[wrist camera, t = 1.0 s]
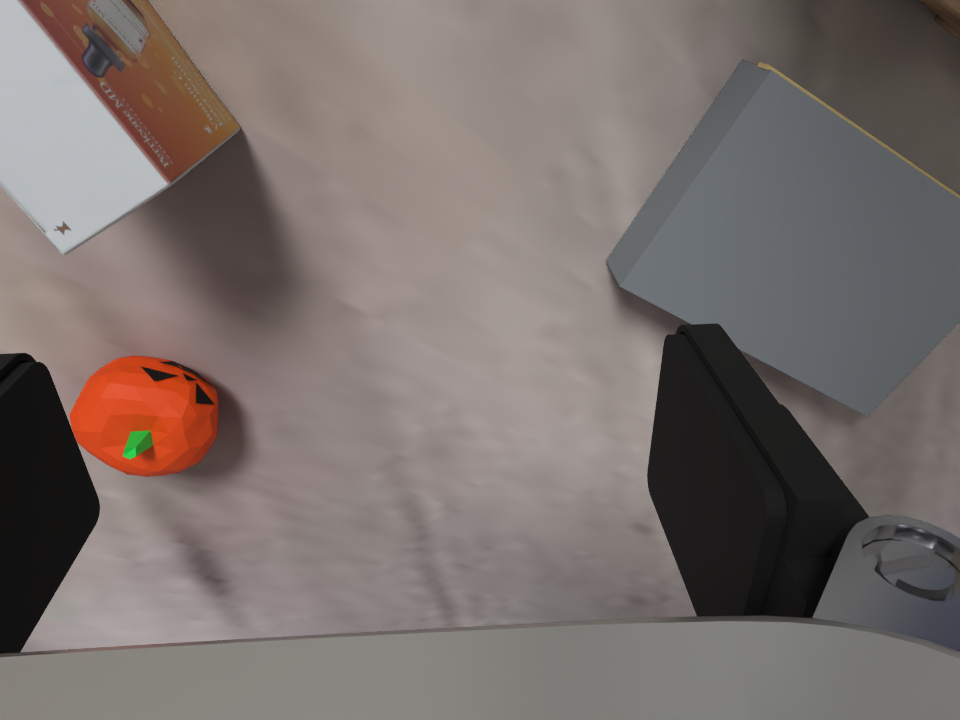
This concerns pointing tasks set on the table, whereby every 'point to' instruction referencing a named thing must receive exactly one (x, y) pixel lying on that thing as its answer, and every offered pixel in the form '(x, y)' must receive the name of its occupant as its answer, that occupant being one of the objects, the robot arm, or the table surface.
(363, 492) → the table surface
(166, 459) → the pumpkin
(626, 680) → the robot arm
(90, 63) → the small box
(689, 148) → the grey flat block
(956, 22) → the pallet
